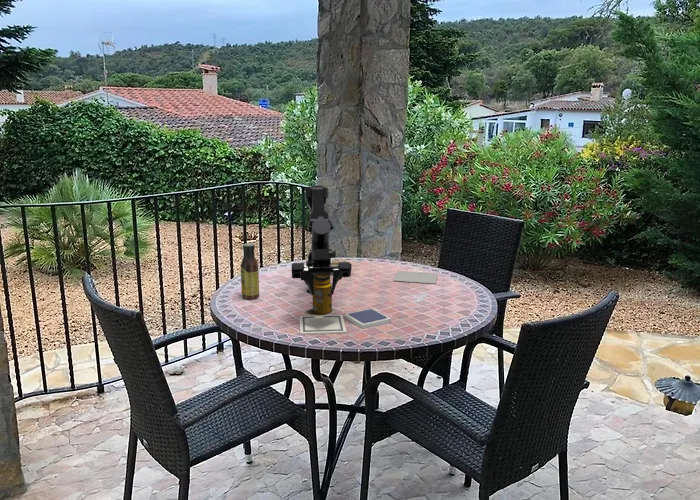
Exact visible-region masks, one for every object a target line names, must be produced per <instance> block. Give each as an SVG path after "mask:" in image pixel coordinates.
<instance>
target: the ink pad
mask: <svg viewBox="0 0 700 500" xmlns="http://www.w3.org/2000/svg"><path fill="white" fill-rule="evenodd" d="M343 319H345V320H348V321H349V322H350V323H352V324H353V325H354V324H355V326H357V327H359V328H360V329H363V330H364V329H368V328H372V327H376V326H380V325H384V324H389V323H392V318H391V317H389V316H387V315H386V314H384V313H382V312H380V311H378V310H377V309H375V308H368V309H367V308H366V309H362V310H358V311H353V312H352V311H351V312H348V313H344V316H343Z"/></svg>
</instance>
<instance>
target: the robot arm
mask: <svg viewBox="0 0 700 500" xmlns="http://www.w3.org/2000/svg"><path fill="white" fill-rule="evenodd" d="M304 199H305V200H306V205H307V206H308V208H309V209H310V214H309V220H307V231H308V232H309V234H310V235H311V237H310V240H311V241H310V242H311V243H310V244H311V251H310V252H309V254H308V256H307V260H306V261H305V263H304V262H292V264H291V278H292V279H300V281H304V284H305V285H306V286H307V288H308V289H306V292H307V293H310V295H311V296H313V288H312V284H313V280H314V279H313V277H314V275H315V274H319V273H325V274H329V275H330V273H333V275H332V281H331V282H332V283H331V286H332V296H333V295H334V293H335V289H336V287H337V284H338V282H339V280H342V279H343V278H350V277H351V275H352V266H351V264H352V263H351V262H350V261H345V262H342V261H339V264H338V266H331V263H332V260H331V259H336V257H337V250H336V246H330V237H331V235H330V234H331V232H332V231H333V230H334V224H333V222H332V220H331V219H329V218H330V217H329V216H330V215H329V213H328V212H326V210H325V205H326V203H327V199H329V188H328V187H325V186H324V185H311V186H307V187H305V188H304ZM330 276H331V275H330Z"/></svg>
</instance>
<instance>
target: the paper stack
mask: <svg viewBox="0 0 700 500" xmlns="http://www.w3.org/2000/svg"><path fill="white" fill-rule="evenodd" d="M437 278H438V273H436V272H434V273H433V272H423V271H422V272H419V271H404V270H397V272H396V274H395V276H394V278H393V281H394V282H408V283H409V282H410V283H422V284H423V283H424V284H437V280H438V279H437Z"/></svg>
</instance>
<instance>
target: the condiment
mask: <svg viewBox="0 0 700 500" xmlns="http://www.w3.org/2000/svg"><path fill="white" fill-rule="evenodd" d="M313 279H314V280H313V284H312V288H313V295H312V308H311V309H308V310H305V311H303V312H302V314H305V315H306V316H312V317H316V318H319V319H320V318H322V317H324V316H328V315H333V313H336V312H338V310H337V309H333V299H332V298H333V295H332V283H331V275H329V274H325V273H319V274H315V275H314V277H313Z"/></svg>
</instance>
